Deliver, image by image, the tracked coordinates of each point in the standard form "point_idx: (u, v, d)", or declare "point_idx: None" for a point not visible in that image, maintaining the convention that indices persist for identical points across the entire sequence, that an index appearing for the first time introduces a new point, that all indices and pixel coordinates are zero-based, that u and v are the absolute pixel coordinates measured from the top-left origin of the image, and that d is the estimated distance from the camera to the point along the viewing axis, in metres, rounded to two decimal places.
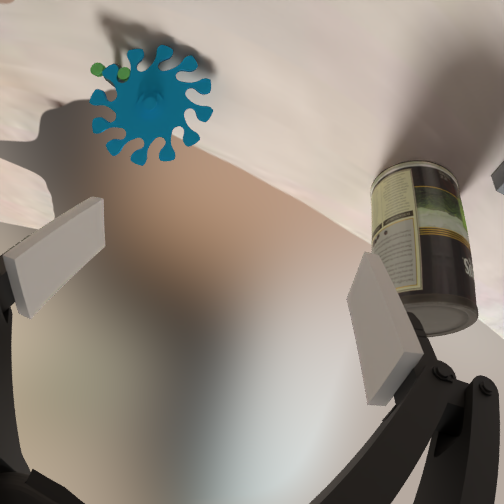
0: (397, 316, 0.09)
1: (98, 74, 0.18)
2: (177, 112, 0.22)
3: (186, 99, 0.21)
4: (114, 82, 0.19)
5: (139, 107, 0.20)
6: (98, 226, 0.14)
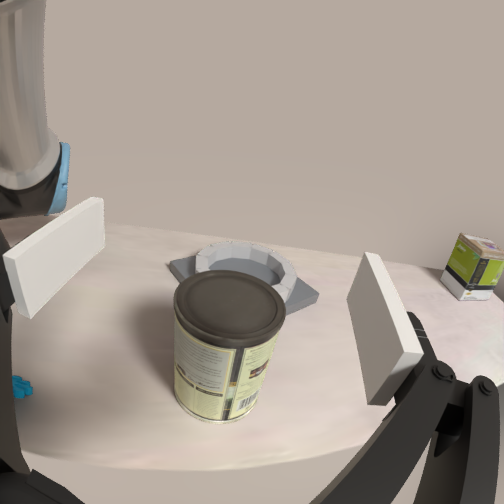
0: (397, 316, 0.09)
1: None
2: None
3: (15, 382, 0.24)
4: None
5: None
6: (98, 226, 0.14)
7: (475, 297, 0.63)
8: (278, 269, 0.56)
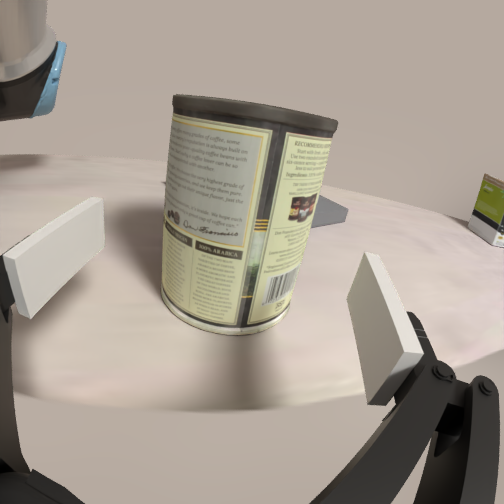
0: (397, 316, 0.09)
1: None
2: None
3: None
4: None
5: None
6: (98, 226, 0.14)
7: None
8: None
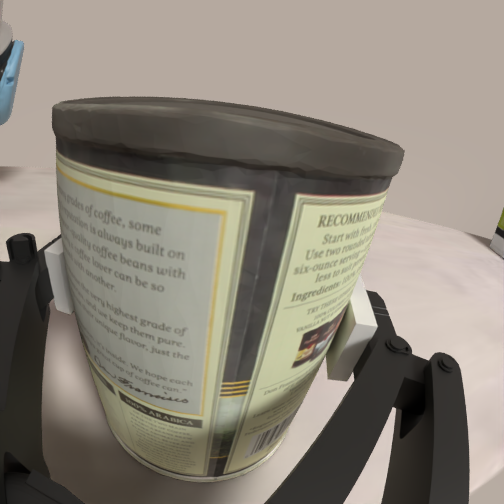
0: (355, 292, 0.10)
1: None
2: None
3: None
4: None
5: None
6: None
7: None
8: None
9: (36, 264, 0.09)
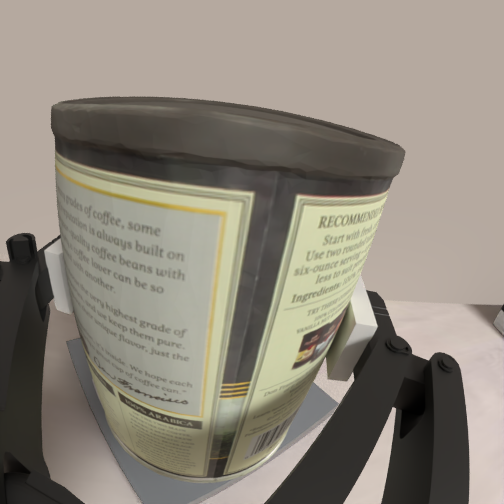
0: (355, 292, 0.10)
1: None
2: None
3: None
4: None
5: None
6: None
7: None
8: None
9: (36, 264, 0.09)
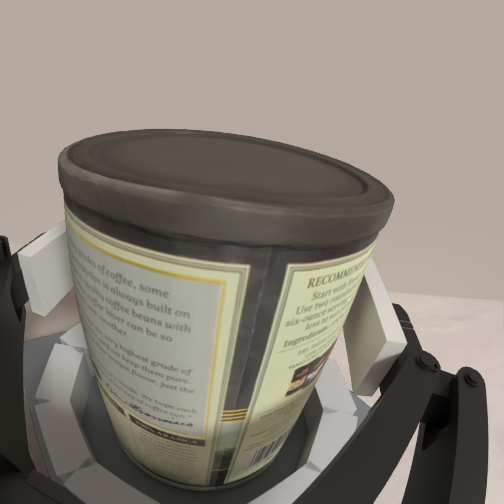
0: (382, 307, 0.10)
1: None
2: None
3: None
4: None
5: None
6: None
7: None
8: None
9: (10, 265, 0.08)
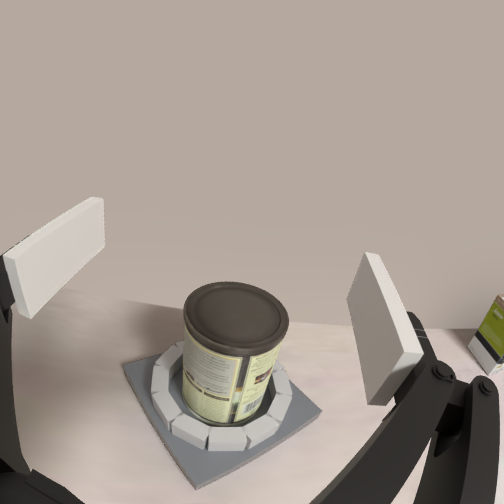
0: (397, 316, 0.09)
1: None
2: None
3: None
4: None
5: None
6: (98, 226, 0.14)
7: None
8: None
9: None
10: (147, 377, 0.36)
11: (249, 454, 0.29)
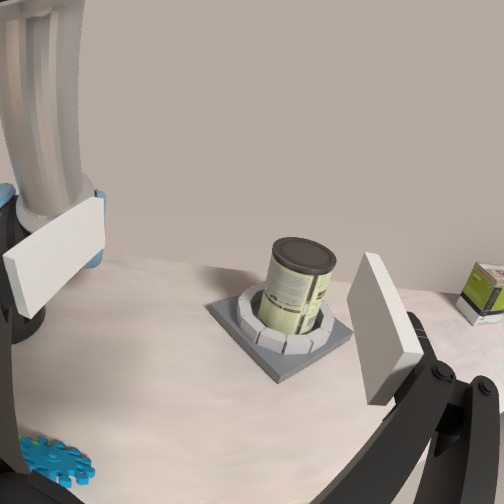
0: (397, 316, 0.09)
1: (19, 438, 0.22)
2: (70, 465, 0.22)
3: (75, 462, 0.23)
4: (29, 443, 0.22)
5: (45, 455, 0.21)
6: (98, 226, 0.14)
7: (487, 321, 0.64)
8: None
9: None
10: (231, 311, 0.54)
11: (311, 356, 0.47)
